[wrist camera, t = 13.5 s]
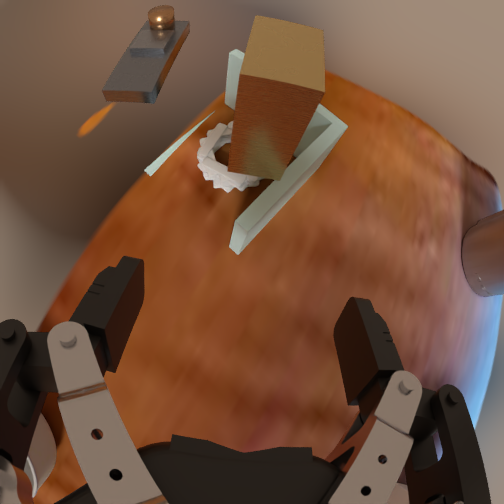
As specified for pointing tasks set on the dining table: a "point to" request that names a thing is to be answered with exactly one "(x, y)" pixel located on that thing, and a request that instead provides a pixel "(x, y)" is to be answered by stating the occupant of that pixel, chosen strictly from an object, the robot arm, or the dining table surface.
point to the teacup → (40, 455)
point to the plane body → (147, 58)
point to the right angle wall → (275, 195)
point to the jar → (399, 495)
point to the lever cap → (275, 96)
